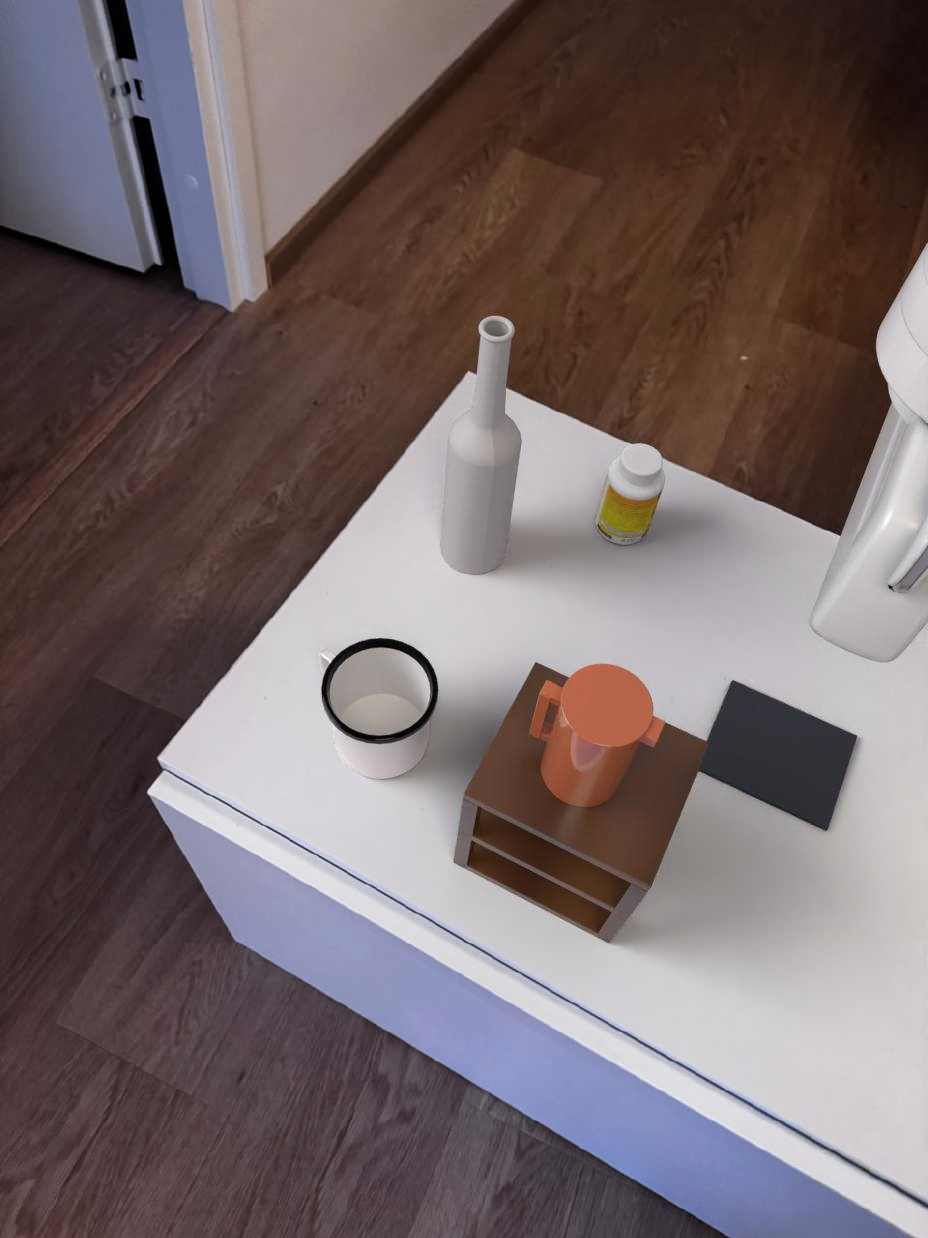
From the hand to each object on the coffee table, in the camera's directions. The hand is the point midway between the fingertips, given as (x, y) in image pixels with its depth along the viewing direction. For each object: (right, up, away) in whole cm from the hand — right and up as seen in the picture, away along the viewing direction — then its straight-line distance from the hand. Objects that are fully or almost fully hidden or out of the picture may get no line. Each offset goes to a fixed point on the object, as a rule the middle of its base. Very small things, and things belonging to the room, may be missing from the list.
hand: (855, 552), depth 48 cm
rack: (-11, -22, +33) cm, 41 cm away
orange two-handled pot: (-11, -14, +20) cm, 27 cm away
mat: (+8, -15, +38) cm, 42 cm away
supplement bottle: (-3, +6, +51) cm, 52 cm away
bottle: (-19, +4, +49) cm, 52 cm away
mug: (-28, -13, +38) cm, 49 cm away
